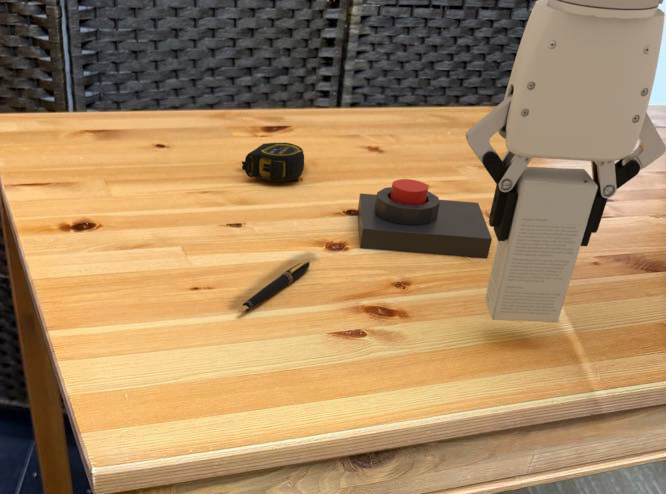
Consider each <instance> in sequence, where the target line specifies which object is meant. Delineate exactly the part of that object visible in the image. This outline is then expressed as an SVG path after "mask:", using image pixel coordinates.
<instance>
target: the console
mask: <svg viewBox="0 0 666 494" xmlns="http://www.w3.org/2000/svg"><path fill="white" fill-rule="evenodd" d="M391 188H392V186H390V187H383V189H380V190H378V191H377V192H376V194H371V193H362V192H361V193H359V196H358V197H359V198H358V204H357V205H358V206H357V222H358V237H359V248H360V249H366V250H376V251H389V252H402V253H414V254H428V255H441V256H453V257H463V258H464V257H466V258H475V259H478V258H479V259H488V257H489V253H490V248H491V245H492V242H493V241H492V240H493V237H492V235H491V232H490V230H489V227H488V225H487V222H486V219H485V217H484V214H483V211H482V209H481V206H480V204H479V202H473V201H461V200H460V201H459V200H448V199H439V197H438V196H437V195H436V194H434V193H432V192H431V191H428V193H427V198H426V203H425V204H421V205H408V204H401V203H398V202H394V201H393V200H391V199H390V194H391Z"/></svg>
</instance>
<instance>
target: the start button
mask: <svg viewBox="0 0 666 494" xmlns="http://www.w3.org/2000/svg"><path fill="white" fill-rule="evenodd" d="M391 187H392V188H391V194H390V199H391V200H393V201H394V202H398V203H401V204H408V205H421V204H425V203H426V198H427V193H428V192H429V191H428V190H429V186H428V184H426V182H423V181H420V180H416V179H410V178H401V179H396V180H394V181H393V182H392V183H391Z"/></svg>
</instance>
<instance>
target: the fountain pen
mask: <svg viewBox="0 0 666 494" xmlns="http://www.w3.org/2000/svg"><path fill="white" fill-rule="evenodd" d="M310 265H311V264H310V259H306V260H303V261H302V262H300V263H297V264H296V265H294V266H292V267H290V268H289V269H287V270H286V271H284V272H283V273H281V274H280V275H279V277H277V278H276V279H273V280H272V281H270V283H268V284H266V285H265V286H264V287H263V288H262V289H260V290H259V291H258V292H256V293H255V294H253V295H252V297H250V298H249V299H248V300H246V301H245V302H244V303H242V306H241V307H240V308H238V310H237V312H236V313H237V314H238V313H242V312H249V311H250V310H251V309H254V308H255V307H257V306H258V305H260V304H261V303H263V302H265V301H266V300H268V299H269V298H271V297H272V296H274V295H275V294H276V293H278V292H280V291H281V290H283V289H284V288H285V287H288V286H289V285H291V284H292V283H294V282H295V281H296V280H297V279H298V278H300V277H301V276H303V274H305V272H306V271H307V270H308V269H309V267H310Z"/></svg>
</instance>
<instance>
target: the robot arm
mask: <svg viewBox="0 0 666 494" xmlns="http://www.w3.org/2000/svg"><path fill="white" fill-rule="evenodd" d="M663 2H664V0H536V1H535V3H534V5H533V7H532V10H531V12H530V15H529V17H528V20H527V23H526V26H525V28H524V31H523V33H522V37H521V40H520V42H519V46H518V49H517V52H516V56H515V59H514V62H513V65H512V69H511V73H510V76H509V79H508V83H507V87H506V90H505V93H504V97H503V100H502V101H501V102H500V103H499V104H497V105H496V106H495V107H493V109H492V110H490V111H489V112H488V113H487V114H485V116H484V117H482V118H481V119H480V120H479V121H478V122H476V123H475V124H474V125H473V126H472V127H470V128H469V129H468V130H467V131H466V133H465V139H466V142H467V144H468V146H469V147H470V149H471V150H472V152H473V153H474V154H475V155H476V157H477V158H478V160H479V161H480V162H481V164H482V165H483V167H484V169H485V170H486V172H487V173H488V175H489V176H490V177H491V178H492V180H493V181H494V183H495V184H496V185H495V190H494V195H493V199H492V202H491V207H490V212H489V216H488V225H489V227H491V228H493V232H494V234H495V237H496V239H497V242H498V241H505V240H507V239H508V235H509V231H510V227H511V223H512V219H513V215H514V211H515V207H516V202H517V198H518V194H517V192H516V190H515V187H516V182H517V181H518V179H519V178H520V176H521V174H522V173H523V171H524V170H525V168H526V167H528V165H529V164H530V162H531V161H532V159H533V158H534V159H549V160H563V161H582V162H584V161H585V162H590V165H591V176H592V177H591V178H592V179H593V181H594V182H595V183H596V184H597V186H598V189H597V192H596V195H595V199H594V202H593V205H592V208H591V212H590V215H589V218H588V222H587V226H586V229H585V232H584V236H583V239H582V242H581V246H580V247H587V246H588V245H589V243H590V239H591V238H592V237H591V236H592V234H596V233H597V232H598V230H599V227H600V224H601V221H602V218H603V214H604V211H605V207H606V205H607V202H608V199H610V198H612V197H613V196H615V194H616V193H617V190H618V189H620V188H622V186H625V184H627V183H628V182H630V181H631V180H632V179H634V178H635V177H636V176H637V175H638V174H639V173H640V171H641V170H642V169H645V168H647V167H648V166H649V165H652V163H653V162H655V161H656V160H658V159H659V158H661V157H662V156H663V155H664V154H665V152H666V144H665V143H664V141H663V139H662V138H661V136H660V134H659V132H658V130H657V129H656V127H655V125H654V123H653V121H652V120H651V117H650V116H649V114H648V113H647V112H648V107H649V103H650V100H651V96H652V91H653V87H654V84H655V83H654V82H655V79H656V75H657V69H658V63H659V58H660V52H661V47H662V41H663V33H664V27H665V26H664V24H665V17H666V14H665V13H666V12H664V11H663V10H662V9H660V8H659V5H663ZM497 133H498V134H499V135H500V136H501V137H502V138H503V139H505V147H506V149H507V150H506V152H505V154H504V155H503V157H502V158H501V157H500V156H499V154H498V153H497V151H496V149H494V147H493V146H492V144H491V143H490V140H491V138H492V137H493V136H494V135H496V134H497ZM638 141H639V145H638V146H637V148H636V145H637V143H638ZM635 148H636V149H635Z"/></svg>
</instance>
